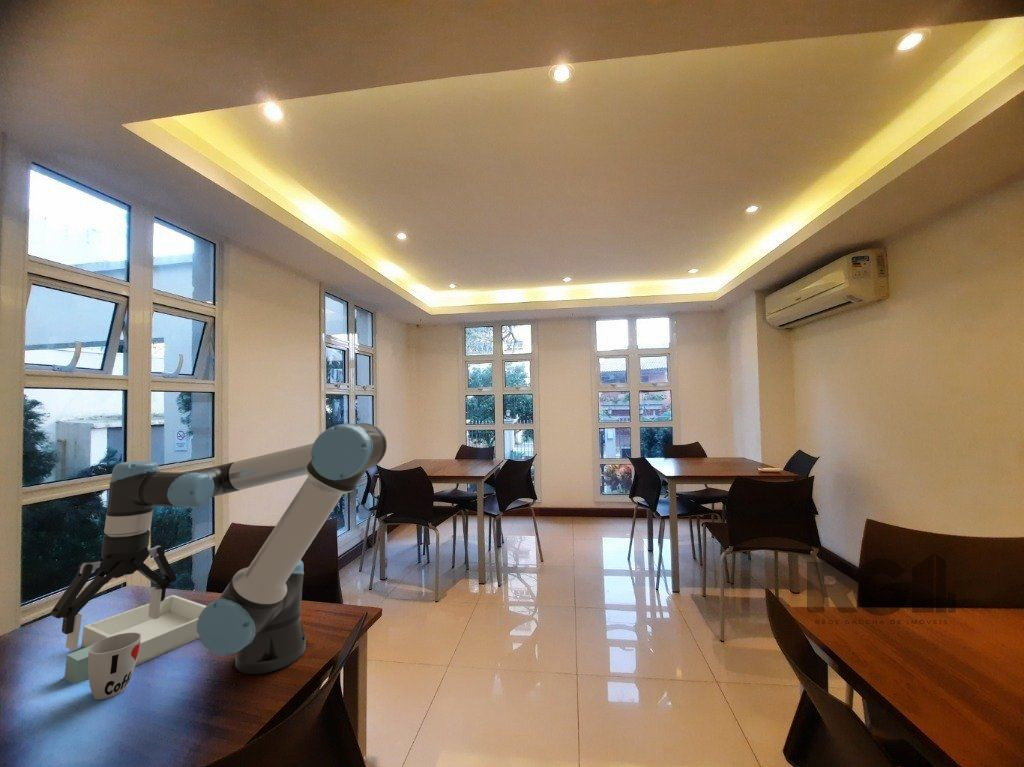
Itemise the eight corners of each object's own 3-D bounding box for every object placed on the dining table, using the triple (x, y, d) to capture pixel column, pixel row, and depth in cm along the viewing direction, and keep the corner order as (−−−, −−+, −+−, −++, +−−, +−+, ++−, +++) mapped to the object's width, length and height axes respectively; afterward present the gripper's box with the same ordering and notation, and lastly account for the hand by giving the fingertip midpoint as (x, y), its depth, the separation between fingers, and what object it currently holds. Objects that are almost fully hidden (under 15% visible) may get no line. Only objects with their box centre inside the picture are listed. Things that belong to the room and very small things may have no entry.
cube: (105, 671, 91) (108, 648, 91) (75, 684, 86) (78, 660, 87) (94, 665, 93) (96, 643, 93) (64, 678, 88) (66, 654, 88)
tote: (217, 629, 109) (219, 610, 110) (128, 670, 91) (130, 647, 92) (171, 612, 117) (173, 594, 118) (81, 646, 99) (83, 626, 100)
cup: (101, 708, 80) (107, 656, 80) (71, 700, 81) (78, 650, 82) (146, 681, 88) (150, 635, 88) (118, 675, 89) (123, 630, 90)
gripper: (182, 517, 100) (172, 603, 98) (36, 545, 77) (20, 658, 75) (200, 521, 97) (190, 610, 96) (54, 551, 74) (38, 669, 73)
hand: (115, 631), depth 85 cm, fingers open, 13 cm apart
